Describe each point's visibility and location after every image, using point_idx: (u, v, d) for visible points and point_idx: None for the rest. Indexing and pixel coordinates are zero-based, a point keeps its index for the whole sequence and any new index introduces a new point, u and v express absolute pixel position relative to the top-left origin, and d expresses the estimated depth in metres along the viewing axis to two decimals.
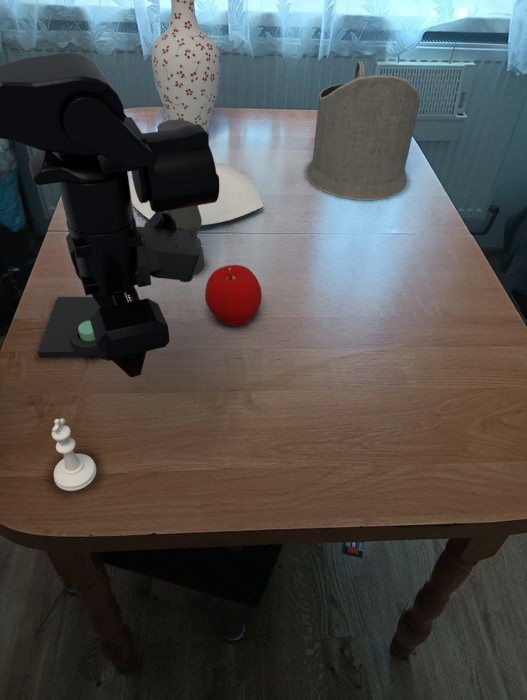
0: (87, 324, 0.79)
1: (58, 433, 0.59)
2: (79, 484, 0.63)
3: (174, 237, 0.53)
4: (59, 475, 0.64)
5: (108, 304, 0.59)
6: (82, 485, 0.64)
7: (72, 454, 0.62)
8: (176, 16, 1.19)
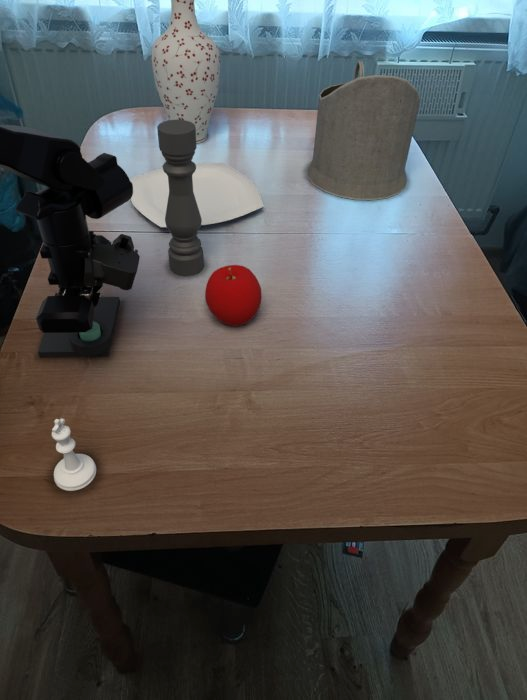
0: None
1: (58, 433, 0.59)
2: (79, 484, 0.63)
3: (123, 256, 0.71)
4: (59, 475, 0.64)
5: None
6: (82, 485, 0.64)
7: (72, 454, 0.62)
8: (176, 16, 1.19)
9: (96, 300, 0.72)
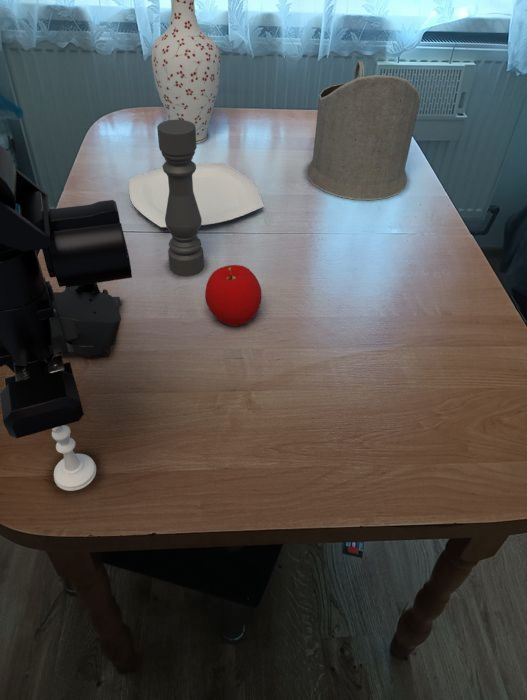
0: None
1: (58, 433, 0.59)
2: (79, 484, 0.63)
3: (95, 302, 0.52)
4: (59, 475, 0.64)
5: None
6: (82, 485, 0.64)
7: (72, 454, 0.62)
8: (176, 16, 1.19)
9: (70, 374, 0.51)
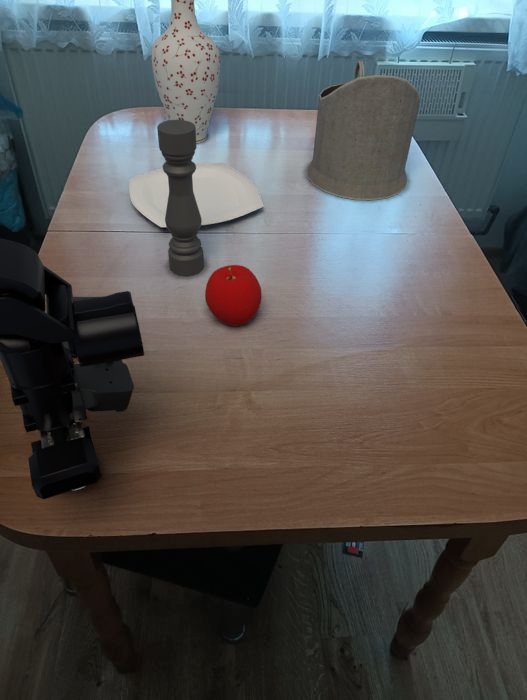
0: None
1: None
2: None
3: (110, 371, 0.58)
4: None
5: None
6: None
7: None
8: (176, 16, 1.19)
9: (89, 438, 0.57)
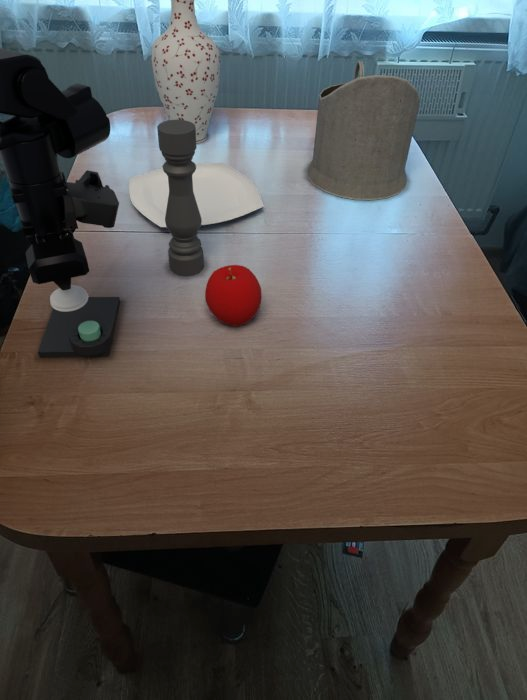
0: (87, 324, 0.79)
1: None
2: (72, 305, 0.71)
3: (98, 191, 0.66)
4: (55, 298, 0.72)
5: None
6: (75, 307, 0.72)
7: None
8: (176, 16, 1.19)
9: None
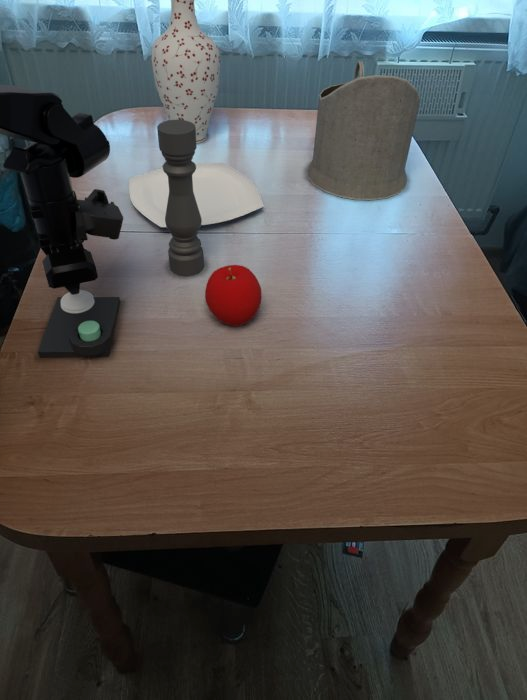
0: (87, 324, 0.79)
1: None
2: (81, 308, 0.80)
3: (105, 207, 0.75)
4: (65, 302, 0.81)
5: None
6: (83, 309, 0.81)
7: None
8: (176, 16, 1.19)
9: None
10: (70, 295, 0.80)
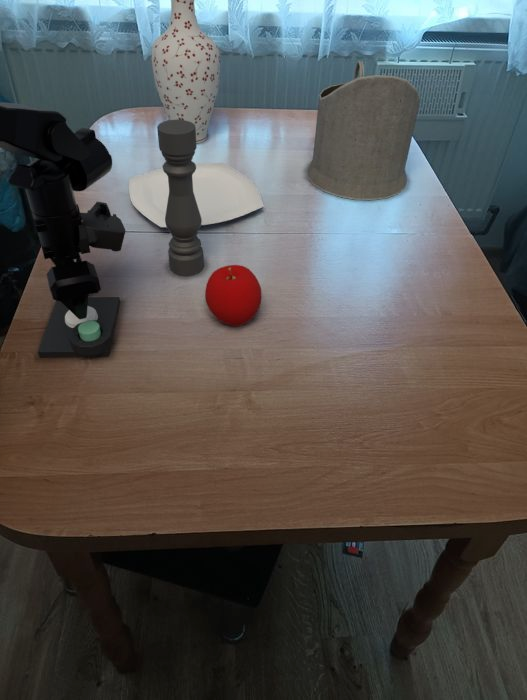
0: (87, 324, 0.79)
1: None
2: None
3: (107, 220, 0.76)
4: (69, 317, 0.83)
5: None
6: None
7: None
8: (176, 16, 1.19)
9: None
10: None
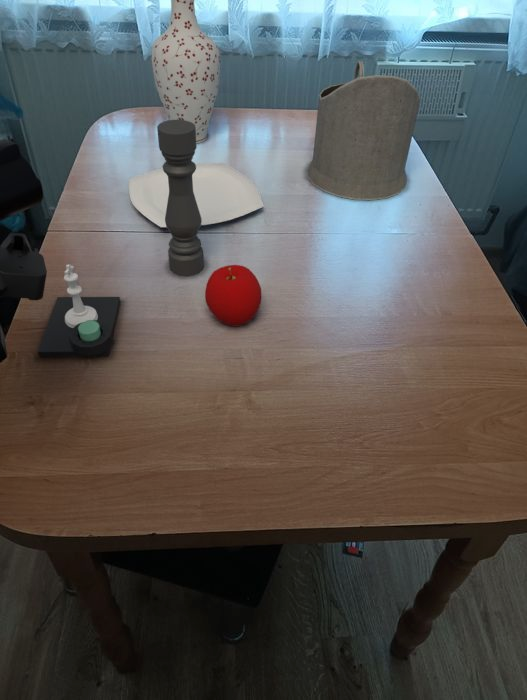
0: (87, 324, 0.79)
1: (69, 276, 0.78)
2: None
3: (23, 258, 0.56)
4: (69, 317, 0.83)
5: None
6: None
7: (79, 298, 0.81)
8: (176, 16, 1.19)
9: None
10: (74, 311, 0.82)
